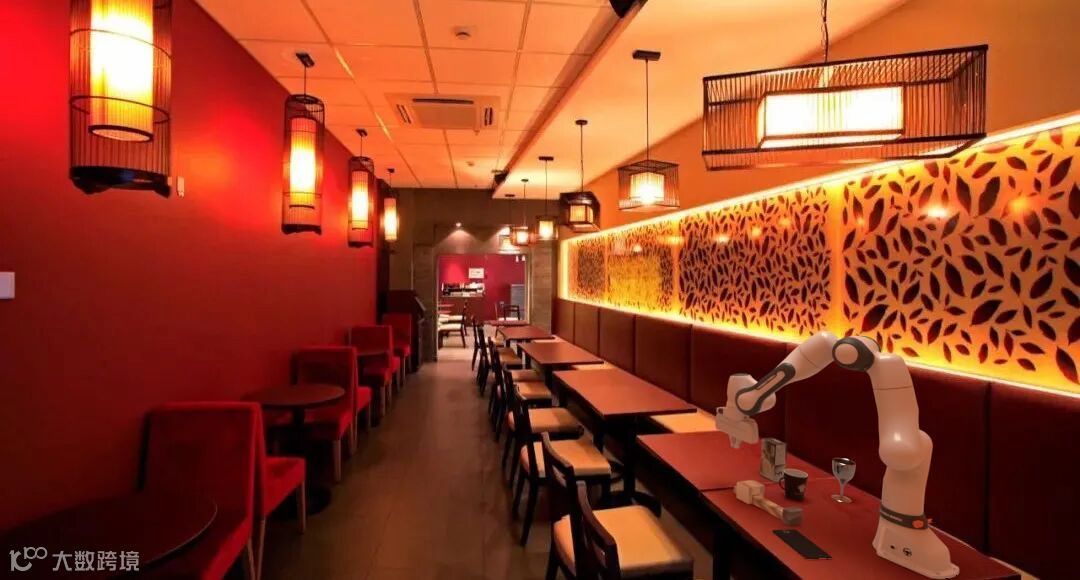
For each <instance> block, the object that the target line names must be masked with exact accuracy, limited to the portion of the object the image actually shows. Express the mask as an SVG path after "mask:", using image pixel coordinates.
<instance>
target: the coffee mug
mask: <svg viewBox="0 0 1080 580" xmlns="http://www.w3.org/2000/svg"><path fill="white" fill-rule="evenodd" d="M808 477H809V475H808V473H807V472H805V471H802V470H799V469H796V468H795V469H794V468H786V469H785V470H784V477H782V478H781V479H780V480H779V482H778V486H779V487H780V488H781V489H782V490H784V496H785V498H786V499H787V500H789V501H793V502H799V503H801V502H803V501H804V497H805V492H806V487H807V482H808ZM782 479H784V481H783V482H784V486H783V485H782V484H781V482H782V481H781V480H782Z"/></svg>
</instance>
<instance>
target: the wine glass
mask: <svg viewBox="0 0 1080 580" xmlns="http://www.w3.org/2000/svg"><path fill="white" fill-rule="evenodd" d="M831 463H832V466H831V467H832V473H833V475H834V476H835V478H836V479H837V480H838V482H839V484H840V494H831V496H830V497H831V498H832V499H833V500H835V501H837V502H840V503H841V502H842V503H846V504H848V503H852V499H851V498H849V497H847V496H845V495H844V488H845V485H846V484H847V483H848V482H849V481H850V480H852V479H853V477H854V475H855V472H856V462H855V461H853V460H850V459H848V458H842V457H834V458H832V462H831Z"/></svg>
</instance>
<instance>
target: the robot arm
mask: <svg viewBox="0 0 1080 580" xmlns="http://www.w3.org/2000/svg"><path fill="white" fill-rule="evenodd" d="M832 362H835V363H836V364H837V365H839V367H841V368H844V369H848V370H852V371H856V372H857V371H858V372H862V373H863V372H864V373H865V372H866V373H867V374H868V375H869V378H870V381H871V386H872V389H873V390H872V392H873V395H874V399H875V404H876V409H877V416H878V435H879V447H878V455H879V458H880V460H881V461H882V462H883V463H884V465H886V469H885V473H884V475H883V479H882V490H881V501H880V502H879V508H878V515H879V516H878V517H879V521H878V525H877V530H876V533H875V537H874V539H873V541H872V544H871V545H872V546H873V548H874V549H875V550H876V555H877V556H879V557H880V558H883V559H886V560H887V561H890V562H893V563H894V564H897V565H899V566H901V567H904V568H907V569H908V570H911V571H914V572H915V573H917V574H920V575H923V576H924V577H927V578H929V579H933V580H934V579H936V580H945V579H946V578H948V579H951V578H955V577H957V576H958V575H959V574H960V567H959V566H957V565H955V564H954V563H952V562H951V554H950V551H949V548H948V547H947V546H946V544H944V542H942V541H941V539H940V538H939V537H938V536H937V535H936V534H935V533H934V531H932V529H930V528H931V527H929V526H930V525H929V524H930V523H931V524H932V520H933V518H928V519H927V517H926V514H925V512H924V505H925V494H926V493H925V492H926V487H927V482H928V476H929V472H930V466H931V459H932V454H933V446H934V445H933V441H932V439H931V437H930V436H929V434H927V433H926V432H925V431H923V430H921V429H920V426H919V425H920V424H919V423H920V422H919V412H920V411H919V406H918V402H917V401H918V400H917V397H916V393H915V388H914V384H913V380H912V376H911V374H910V372H909V369H908V365H907V364H906V362H905V360H904V358H903V357H902V356H901V355H899V354H897V353H895V352H894V353H893V352H882V348H881V345H880V344H879V342H877V341H876V340H875V339H874V338H872V337H869V336H866V335H850V336H846V337H843V338H840V337H838V335H836V334H835V333H833V332H831V331H829V330H820V331H819V332H816V333H814V334H813V335H811V336H809V337H808V338H807V339H805V340H804V341H803V342H801V343H800V344H799V345H798V346H796V348H794V349H793V350H792V351H791V352H790V353H789V354H788V355H787V356H786V357H785V358H784V359H783V360H782V361H780V363H779V364H778V365H777V366H776V367H775V368H774V369H772V370H771V371H770V372H768V373H767V374H766V375H765V376H764V377H762V378H761V379H760V380H759V381H757V380H756V379H754V378H753V377H752V375H751V374H748V373H735V374H732V375H730V376H729V379H728V382H727V389H726V390H727V391H726V395H727V401H726V405H725V406H720V407H716V414H715V415H716V416H715V420H714V421H715V422H714V423H715V424H714V425H715V429H716V430H718V431H720V432H722V433H724V434H727V435H728V438H729V441H730V447H732V448H734V449H740V445H741V443H742V442H745V443H748V444H750V445H754V444H757V443H758V442H759V427H758V423H757V421H756V420H755V419H754V418H751V416H754V415H756V414H759V413H762V412H765V411H768V410H771V409H772V408H773V407H775V405H776V403H777V396H776V392H778V391H779V390H781V388H783V387H784V386H786V385H788V384H791V383H794V382H797V381H801V380H804V379H808V378H810V377H812V376H814V375H816V374H819V372H820V371H822V370H823V369H824V368H826V367H827V366H828V365H829V364H831V363H832ZM956 575H957V576H956Z"/></svg>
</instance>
